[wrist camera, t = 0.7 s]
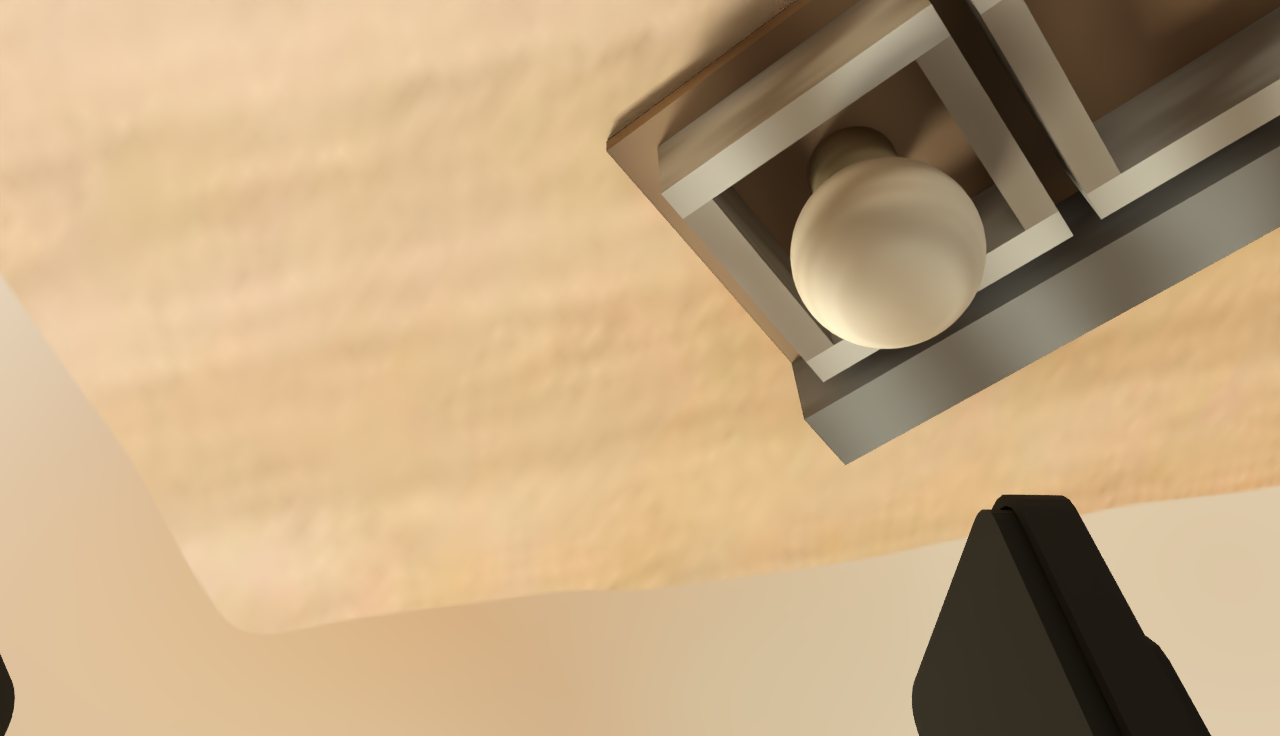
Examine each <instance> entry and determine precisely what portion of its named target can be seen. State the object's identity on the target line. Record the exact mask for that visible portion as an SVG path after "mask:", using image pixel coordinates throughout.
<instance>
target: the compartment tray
mask: <svg viewBox="0 0 1280 736" xmlns="http://www.w3.org/2000/svg"><path fill="white" fill-rule="evenodd" d="M607 152H608V153H609V155H610V156H611V157H612V158H613V159H614V160H615V161H616V163H617V164H618V165H619V166H620V167H621V168H622V170H623V171H624V172H625V173H626V174H627V175H628V176H629V178H630V179H631V180H632V181H633V182H634V183H635V184H636V186H637V187H638V188H639V189H640V190H641V191H642V192H643V194H644V195H645V196H646V197H647V198H648V199H649V200H650V202H651V203H652V204H653V205H654V206H655V207H656V208H657V210H658V211H659V212H660V213H661V214H662V215H663V216H664V218H665V219H666V220H667V221H668V222H669V223H670V224H671V226H672V227H673V228H674V229H675V230H676V231H677V232H678V234H679V235H680V236H681V237H682V238H683V239H684V241H685V242H686V243H687V244H688V245H689V246H690V247H691V249H692V250H693V251H694V252H695V253H696V254H697V255H698V257H699V258H700V259H701V260H702V261H703V262H704V263H705V265H706V266H707V267H708V268H709V269H710V270H711V271H712V273H713V274H714V275H715V276H716V277H717V278H718V279H719V281H720V282H721V283H722V284H723V285H724V286H725V287H726V289H727V290H728V291H729V292H730V293H731V294H732V295H733V297H734V298H735V299H736V300H737V301H738V302H739V304H740V305H741V306H742V307H743V308H744V309H745V310H746V312H747V313H748V314H749V315H750V316H751V317H752V318H753V320H754V321H755V322H756V323H757V324H758V325H759V326H760V328H761V329H762V330H763V331H764V332H765V333H766V334H767V336H768V337H769V338H770V339H771V340H772V341H773V342H774V344H775V345H776V346H777V347H778V348H779V349H780V350H781V352H782V353H783V354H784V355H785V356H786V357H787V358H788V360H789V361H790V362H791V363H792V367H793V371H794V376H795V380H796V385H797V389H798V394H799V398H800V402H801V407H802V411H803V416H804V420H805V421H806V422H807V423H808V424H809V425H810V426H811V427H812V429H813V430H814V431H815V432H816V433H817V434H818V435H819V436H820V437H821V439H822V440H823V441H824V442H825V443H826V444H827V445H828V446H829V447H830V449H831V450H832V451H833V452H834V453H835V454H836V455H837V456H838V457H839V459H840V460H841V461H842V462H843V463H844V464H845V465H847V464H848V463H850V462H852V461H854V460H856V459H858V458H859V457H861V456H863V455H865V454H867V453H868V452H870V451H872V450H874V449H876V448H878V447H879V446H881V445H883V444H885V443H887V442H889V441H890V440H892V439H894V438H896V437H898V436H899V435H901V434H903V433H905V432H907V431H909V430H910V429H912V428H914V427H916V426H918V425H920V424H921V423H923V422H925V421H927V420H929V419H930V418H932V417H934V416H936V415H938V414H940V413H941V412H943V411H945V410H947V409H949V408H951V407H952V406H954V405H956V404H958V403H960V402H961V401H963V400H965V399H967V398H969V397H971V396H972V395H974V394H976V393H978V392H980V391H982V390H983V389H985V388H987V387H989V386H991V385H992V384H994V383H996V382H998V381H1000V380H1002V379H1003V378H1005V377H1007V376H1009V375H1011V374H1013V373H1014V372H1016V371H1018V370H1020V369H1022V368H1023V367H1025V366H1027V365H1029V364H1031V363H1033V362H1034V361H1036V360H1038V359H1040V358H1042V357H1043V356H1045V355H1047V354H1049V353H1051V352H1053V351H1054V350H1056V349H1058V348H1060V347H1062V346H1064V345H1065V344H1067V343H1069V342H1071V341H1073V340H1074V339H1076V338H1078V337H1080V336H1082V335H1084V334H1085V333H1087V332H1089V331H1091V330H1093V329H1095V328H1096V327H1098V326H1100V325H1102V324H1104V323H1105V322H1107V321H1109V320H1111V319H1113V318H1115V317H1116V316H1118V315H1120V314H1122V313H1124V312H1126V311H1127V310H1129V309H1131V308H1133V307H1135V306H1136V305H1138V304H1140V303H1142V302H1144V301H1146V300H1147V299H1149V298H1151V297H1153V296H1155V295H1157V294H1158V293H1160V292H1162V291H1164V290H1166V289H1167V288H1169V287H1171V286H1173V285H1175V284H1177V283H1178V282H1180V281H1182V280H1184V279H1186V278H1187V277H1189V276H1191V275H1193V274H1195V273H1197V272H1198V271H1200V270H1202V269H1204V268H1206V267H1208V266H1209V265H1211V264H1213V263H1215V262H1217V261H1218V260H1220V259H1222V258H1224V257H1226V256H1228V255H1229V254H1231V253H1233V252H1235V251H1237V250H1239V249H1240V248H1242V247H1244V246H1246V245H1248V244H1249V243H1251V242H1253V241H1255V240H1257V239H1259V238H1260V237H1262V236H1264V235H1266V234H1268V233H1270V232H1271V231H1273V230H1275V229H1277V228H1279V227H1280V0H797V1H795V2H794V3H793V4H791V5H790V6H789V7H787V8H786V9H785V10H783V11H782V12H781V13H779V14H778V15H777V16H775V17H774V18H772V19H771V20H770V21H768V22H767V23H766V24H764V25H763V26H762V27H760V28H759V29H758V30H756V31H755V32H754V33H752V34H751V35H750V36H748V37H747V38H745V39H744V40H743V41H741V42H740V43H739V44H737V45H736V46H735V47H733V48H732V49H731V50H729V51H728V52H727V53H725V54H724V55H723V56H721V57H720V58H719V59H717V60H716V61H714V62H713V63H712V64H710V65H709V66H708V67H706V68H705V69H704V70H702V71H701V72H700V73H698V74H697V75H696V76H694V77H693V78H692V79H690V80H689V81H687V82H686V83H685V84H683V85H682V86H681V87H679V88H678V89H677V90H675V91H674V92H673V93H671V94H670V95H669V96H667V97H666V98H665V99H663V100H662V101H661V102H659V103H658V104H656V105H655V106H654V107H652V108H651V109H650V110H648V111H647V112H646V113H644V114H643V115H642V116H640V117H639V118H638V119H636V120H635V121H634V122H632V123H631V124H629V125H628V126H627V127H625V128H624V129H623V130H621V131H620V132H619V133H617V134H616V135H615V136H613V137H612V138H611V139H609V140H608V141H607Z"/></svg>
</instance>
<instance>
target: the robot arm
mask: <svg viewBox="0 0 1280 736" xmlns="http://www.w3.org/2000/svg"><path fill="white" fill-rule="evenodd" d="M14 699H15V696H14V687H13V683H12V680H11V678H10V676H9V674H8V671H7V669H6V666H5V664H4V662H3V659H2V657H1V655H0V736H4V735H5V733H6V731H7V728H8V726H9V723H10V721H11V718H12V713H13V709H14ZM912 708H913V716H914V720H915V723H916V727H917V730H918V733H919V736H1211V735H1210V733H1209V731H1208V729H1207V728H1206V726H1205V724H1204V722H1203V720H1202V719H1201V717H1200V715H1199V713H1198V711H1197V709H1196V708H1195V706H1194V704H1193V702H1192V700H1191V699H1190V697H1189V695H1188V693H1187V692H1186V690H1185V688H1184V686H1183V684H1182V683H1181V681H1180V679H1179V677H1178V675H1177V673H1176V672H1175V670H1174V668H1173V666H1172V664H1171V663H1170V661H1169V659H1168V658H1167V657H1166V655H1165V654H1164V652H1163V651H1162V650H1161V648H1160V647H1159V646H1158V645H1157V644H1156V643H1155V642H1153V641H1152V640H1151V639H1149V638H1148V637H1147V636H1145V635H1144V633H1143V631H1142V629H1141V627H1140V625H1139V624H1138V622H1137V620H1136V618H1135V616H1134V614H1133V613H1132V611H1131V609H1130V607H1129V605H1128V603H1127V602H1126V600H1125V598H1124V596H1123V594H1122V592H1121V591H1120V589H1119V587H1118V585H1117V583H1116V581H1115V579H1114V578H1113V576H1112V574H1111V572H1110V571H1109V568H1108V567H1107V565H1106V563H1105V561H1104V559H1103V558H1102V556H1101V554H1100V552H1099V550H1098V548H1097V546H1096V545H1095V543H1094V541H1093V539H1092V537H1091V535H1090V534H1089V532H1088V530H1087V528H1086V526H1085V524H1084V523H1083V521H1082V519H1081V517H1080V515H1079V513H1078V512H1077V510H1076V508H1075V507H1074V505H1073V504H1072V502H1071V501H1070V500H1069V499H1067V498H1066V497H1064V496H1059V495H1002V496H1001V497H1000V498H998V499H997V501H996V502H995V504H994V506H993V508H992V510H981V511H980V512H979V513H978V515H977V516H976V518H975V521H974V523H973V526H972V529H971V531H970V534H969V537H968V539H967V542H966V545H965V548H964V550H963V553H962V555H961V558H960V561H959V563H958V566H957V569H956V572H955V574H954V577H953V579H952V582H951V585H950V588H949V590H948V593H947V596H946V598H945V601H944V604H943V606H942V609H941V612H940V614H939V617H938V620H937V622H936V625H935V628H934V630H933V633H932V636H931V638H930V641H929V644H928V647H927V649H926V652H925V654H924V657H923V660H922V662H921V665H920V668H919V670H918V673H917V676H916V678H915V681H914V685H913V691H912Z"/></svg>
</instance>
